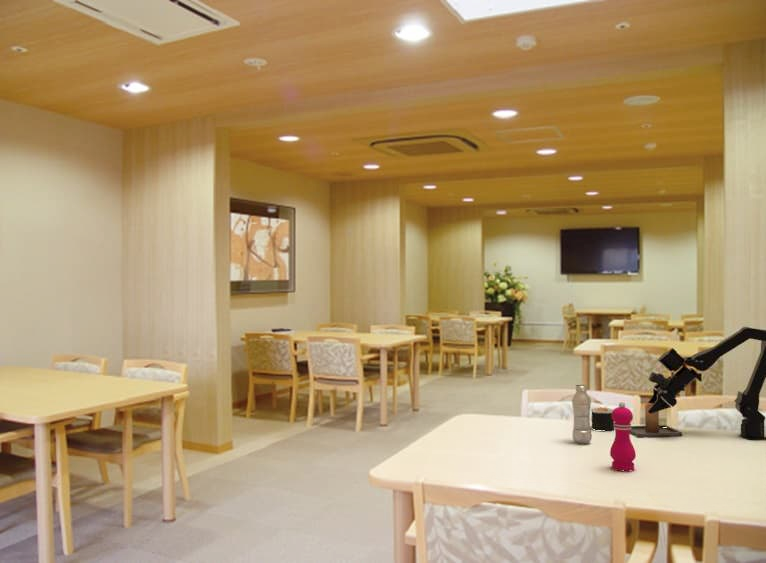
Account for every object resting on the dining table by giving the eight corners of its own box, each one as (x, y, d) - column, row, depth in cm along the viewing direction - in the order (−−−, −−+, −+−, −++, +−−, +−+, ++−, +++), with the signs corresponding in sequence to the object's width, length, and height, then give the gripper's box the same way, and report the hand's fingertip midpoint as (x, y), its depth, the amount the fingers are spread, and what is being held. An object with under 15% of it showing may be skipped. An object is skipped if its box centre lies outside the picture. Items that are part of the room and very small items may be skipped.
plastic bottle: (571, 444, 226) (570, 386, 226) (573, 440, 232) (572, 383, 232) (591, 446, 223) (589, 387, 223) (592, 441, 229) (591, 384, 229)
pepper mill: (637, 472, 192) (636, 404, 192) (612, 471, 194) (610, 404, 194) (633, 465, 200) (632, 400, 199) (608, 464, 201) (607, 399, 201)
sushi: (612, 427, 251) (612, 406, 251) (615, 432, 242) (614, 410, 242) (590, 426, 252) (590, 405, 252) (592, 431, 244) (591, 410, 244)
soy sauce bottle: (658, 430, 241) (658, 402, 241) (659, 433, 237) (658, 405, 237) (645, 429, 243) (644, 402, 243) (645, 432, 238) (645, 404, 238)
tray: (665, 428, 246) (665, 424, 246) (681, 436, 234) (681, 432, 234) (623, 430, 245) (623, 426, 245) (638, 437, 233) (638, 433, 233)
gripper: (659, 361, 247) (628, 389, 251) (665, 368, 230) (632, 398, 233) (682, 382, 245) (651, 411, 248) (690, 391, 227) (657, 421, 231)
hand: (647, 410), depth 240 cm, fingers open, 9 cm apart
